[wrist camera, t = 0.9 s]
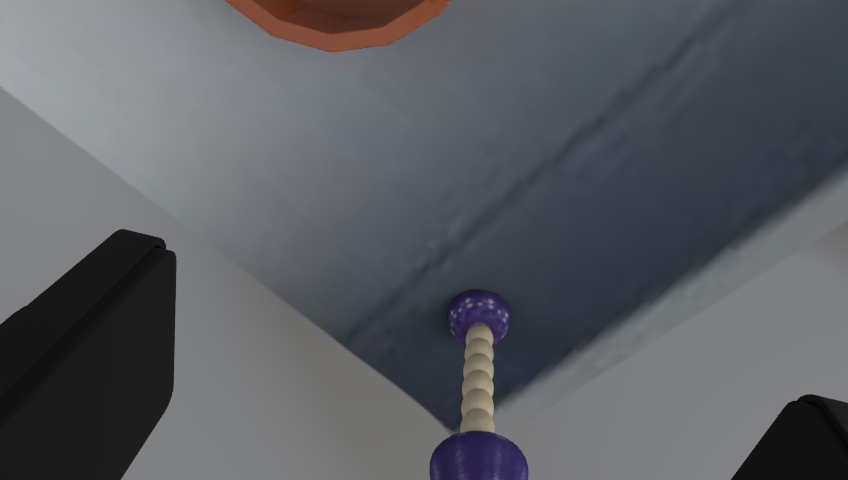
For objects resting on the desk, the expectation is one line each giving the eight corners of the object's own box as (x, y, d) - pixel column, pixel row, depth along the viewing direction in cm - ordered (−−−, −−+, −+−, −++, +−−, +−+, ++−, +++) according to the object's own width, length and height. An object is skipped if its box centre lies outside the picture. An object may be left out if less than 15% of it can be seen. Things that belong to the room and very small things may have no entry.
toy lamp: (430, 299, 39) (401, 527, 24) (492, 270, 37) (499, 493, 22) (467, 349, 40) (460, 590, 26) (527, 323, 39) (556, 562, 24)
